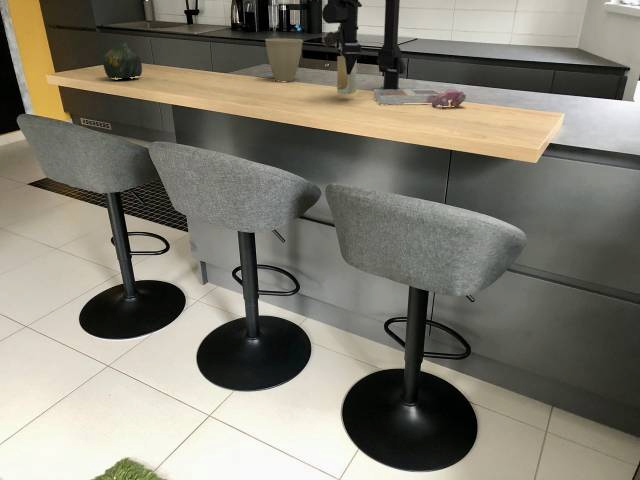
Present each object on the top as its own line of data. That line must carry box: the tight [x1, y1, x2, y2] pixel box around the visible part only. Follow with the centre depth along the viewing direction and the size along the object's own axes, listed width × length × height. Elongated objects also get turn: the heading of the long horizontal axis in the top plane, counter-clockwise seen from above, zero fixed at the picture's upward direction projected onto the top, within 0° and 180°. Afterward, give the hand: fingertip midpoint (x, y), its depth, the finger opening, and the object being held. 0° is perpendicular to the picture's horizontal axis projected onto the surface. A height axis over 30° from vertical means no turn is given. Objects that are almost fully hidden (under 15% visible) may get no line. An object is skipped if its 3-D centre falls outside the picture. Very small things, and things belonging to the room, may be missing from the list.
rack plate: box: [373, 88, 442, 105], centre depth 174 cm, size 12×22×3 cm, turn 95°
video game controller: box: [431, 89, 467, 108], centre depth 166 cm, size 10×5×7 cm, turn 106°
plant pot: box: [264, 38, 304, 82], centre depth 208 cm, size 15×15×16 cm
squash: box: [102, 41, 143, 79], centre depth 206 cm, size 14×15×15 cm
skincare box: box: [336, 55, 358, 95], centre depth 173 cm, size 6×4×12 cm
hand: (346, 72), depth 173 cm, fingers closed on skincare box, 7 cm apart
